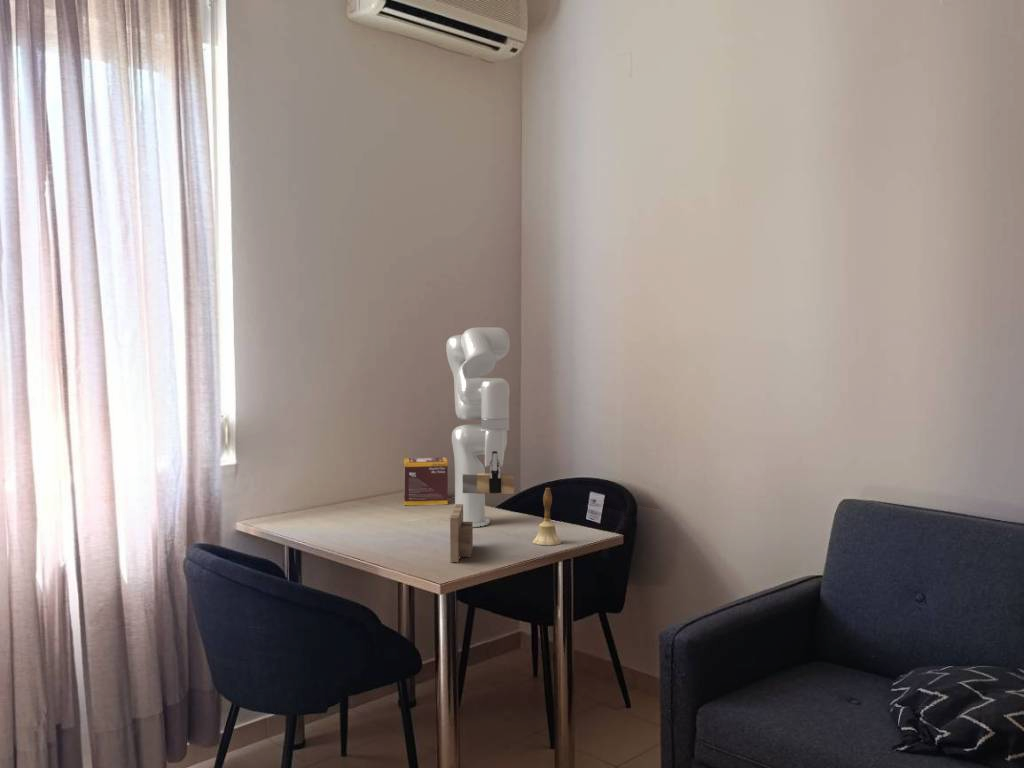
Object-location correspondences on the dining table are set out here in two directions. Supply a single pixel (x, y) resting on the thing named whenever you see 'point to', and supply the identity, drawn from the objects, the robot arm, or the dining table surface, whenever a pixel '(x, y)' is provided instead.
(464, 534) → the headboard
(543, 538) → the hand bell
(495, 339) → the robot arm
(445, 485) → the supplement box
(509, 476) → the tan and gray block
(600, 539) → the dining table surface
